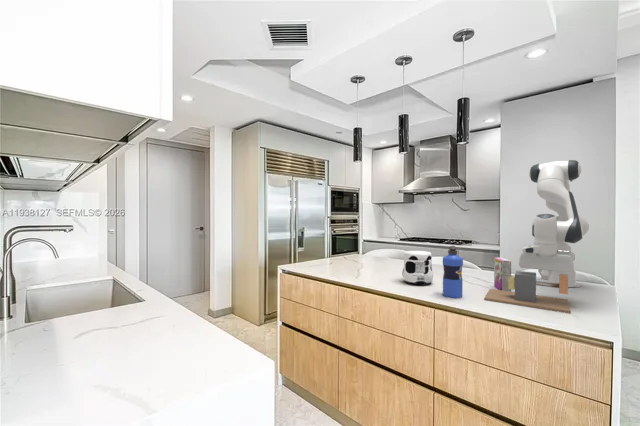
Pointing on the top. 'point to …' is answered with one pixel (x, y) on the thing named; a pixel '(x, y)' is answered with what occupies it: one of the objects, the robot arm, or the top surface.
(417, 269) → the milk container
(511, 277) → the spacer
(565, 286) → the shaft
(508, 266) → the candy bar box
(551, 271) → the robot arm
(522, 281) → the bearing stand
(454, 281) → the water bottle
